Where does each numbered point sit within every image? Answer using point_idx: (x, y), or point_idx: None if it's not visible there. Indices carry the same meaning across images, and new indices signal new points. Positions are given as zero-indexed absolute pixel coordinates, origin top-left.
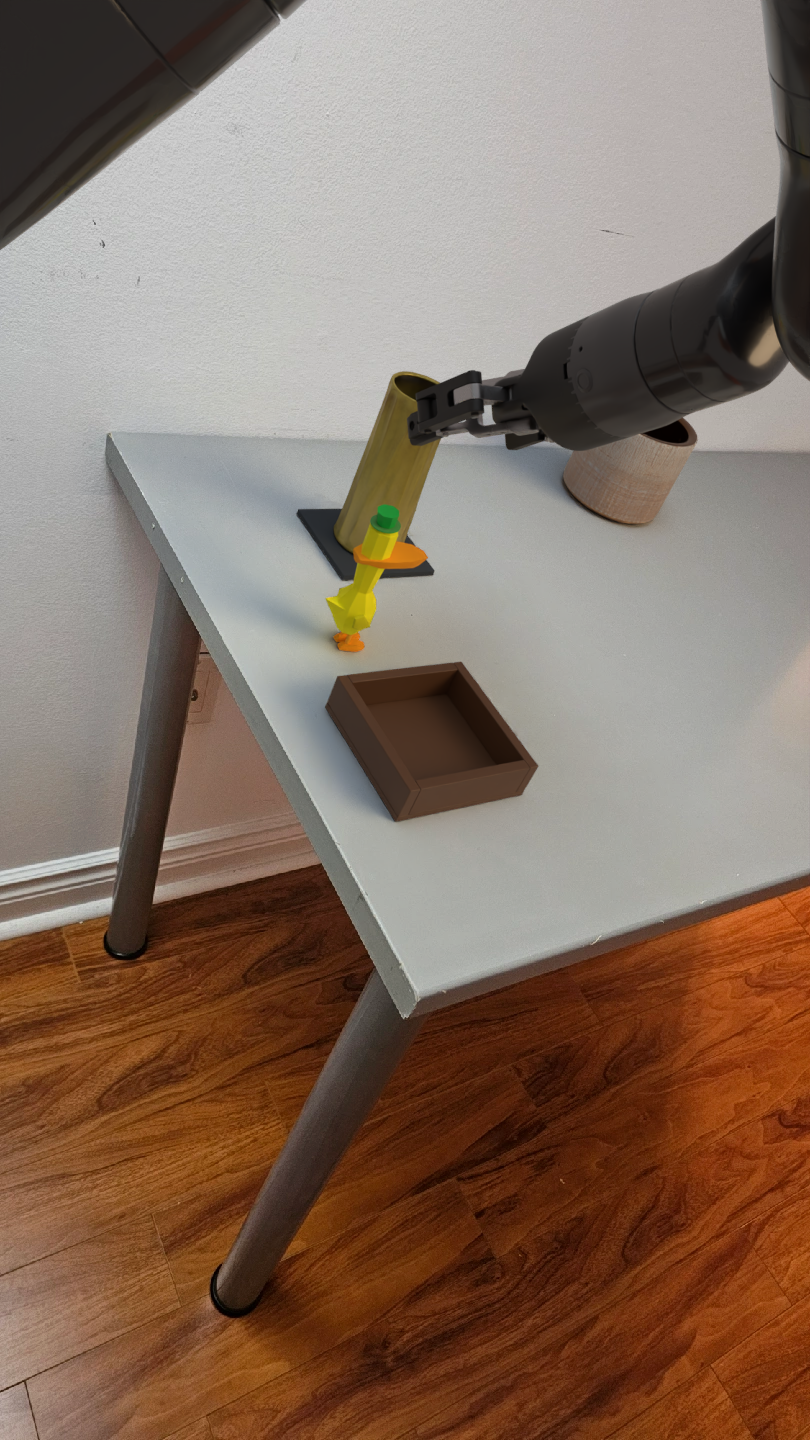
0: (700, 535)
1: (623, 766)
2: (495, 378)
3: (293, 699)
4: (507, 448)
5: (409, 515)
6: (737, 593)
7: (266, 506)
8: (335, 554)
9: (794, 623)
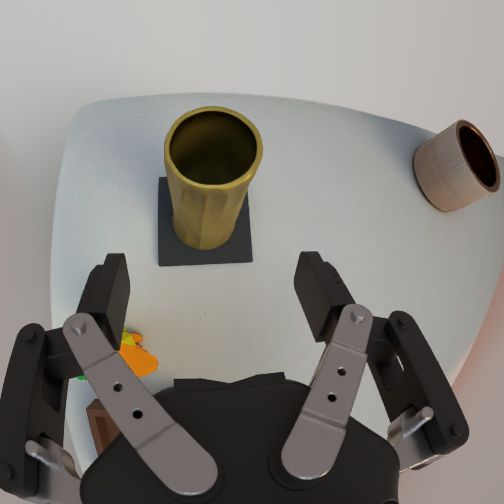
0: (474, 224)
1: None
2: (118, 425)
3: (77, 387)
4: (294, 284)
5: (221, 233)
6: (472, 283)
7: (138, 170)
8: (163, 237)
9: (485, 311)
